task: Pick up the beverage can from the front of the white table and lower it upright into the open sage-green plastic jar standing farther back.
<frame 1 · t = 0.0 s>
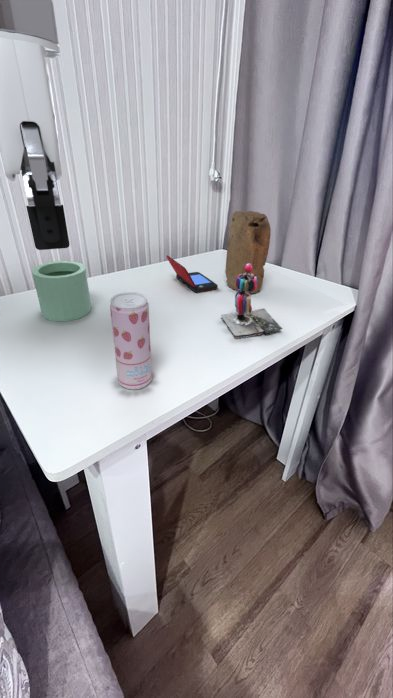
hand: (50, 236, 37), 25 cm above the table, tool pointing down, fingers open, 9 cm apart
statue: (250, 326, 74), on the table
beverage can: (135, 381, 57), on the table
jar: (67, 310, 77), on the table
handheld console: (191, 285, 94), on the table
block: (243, 288, 93), on the table
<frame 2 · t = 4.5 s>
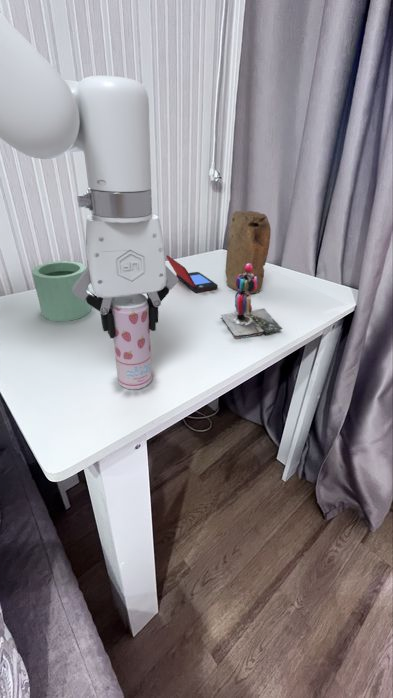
hand: (131, 329, 51), 10 cm above the table, tool pointing down, fingers closed on beverage can, 5 cm apart
beverage can: (135, 380, 57), on the table, touching gripper
everything else where it was.
when the fingers open (11 cm above the table, at t = 14.3 s): beverage can stays where it is, resting on jar.
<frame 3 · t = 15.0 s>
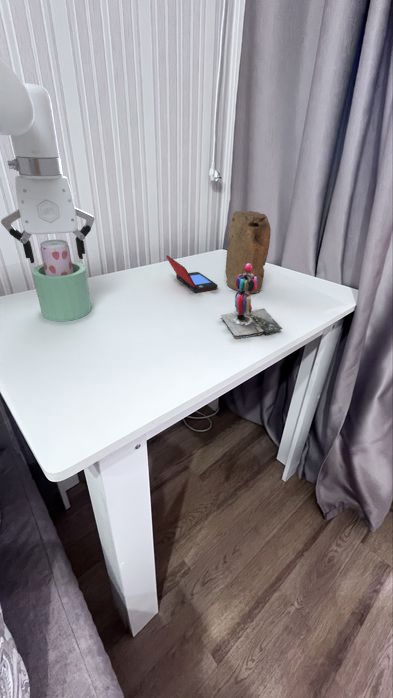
hand: (57, 259, 71), 12 cm above the table, tool pointing down, fingers open, 9 cm apart
beverage can: (66, 309, 77), resting on jar
everything else where it was.
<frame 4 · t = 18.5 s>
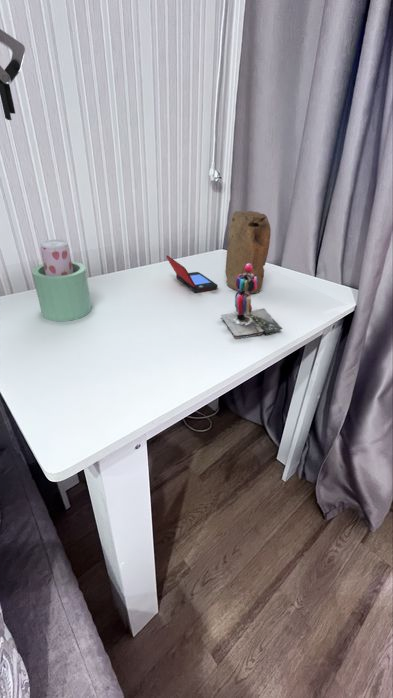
nothing on the table moved.
at the end: beverage can 0.1 cm off-centre in the jar, point 0.4 cm above the jar's base; beverage can tilted 0°; the gripper is holding nothing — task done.
